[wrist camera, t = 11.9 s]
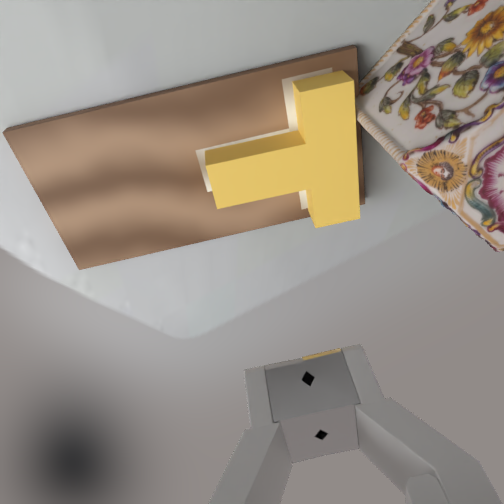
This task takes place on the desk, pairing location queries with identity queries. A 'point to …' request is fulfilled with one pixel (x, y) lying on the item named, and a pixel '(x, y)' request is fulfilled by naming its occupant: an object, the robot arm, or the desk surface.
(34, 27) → the desk surface
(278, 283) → the desk surface
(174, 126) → the board
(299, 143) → the t block
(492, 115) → the decorative jar
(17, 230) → the desk surface
